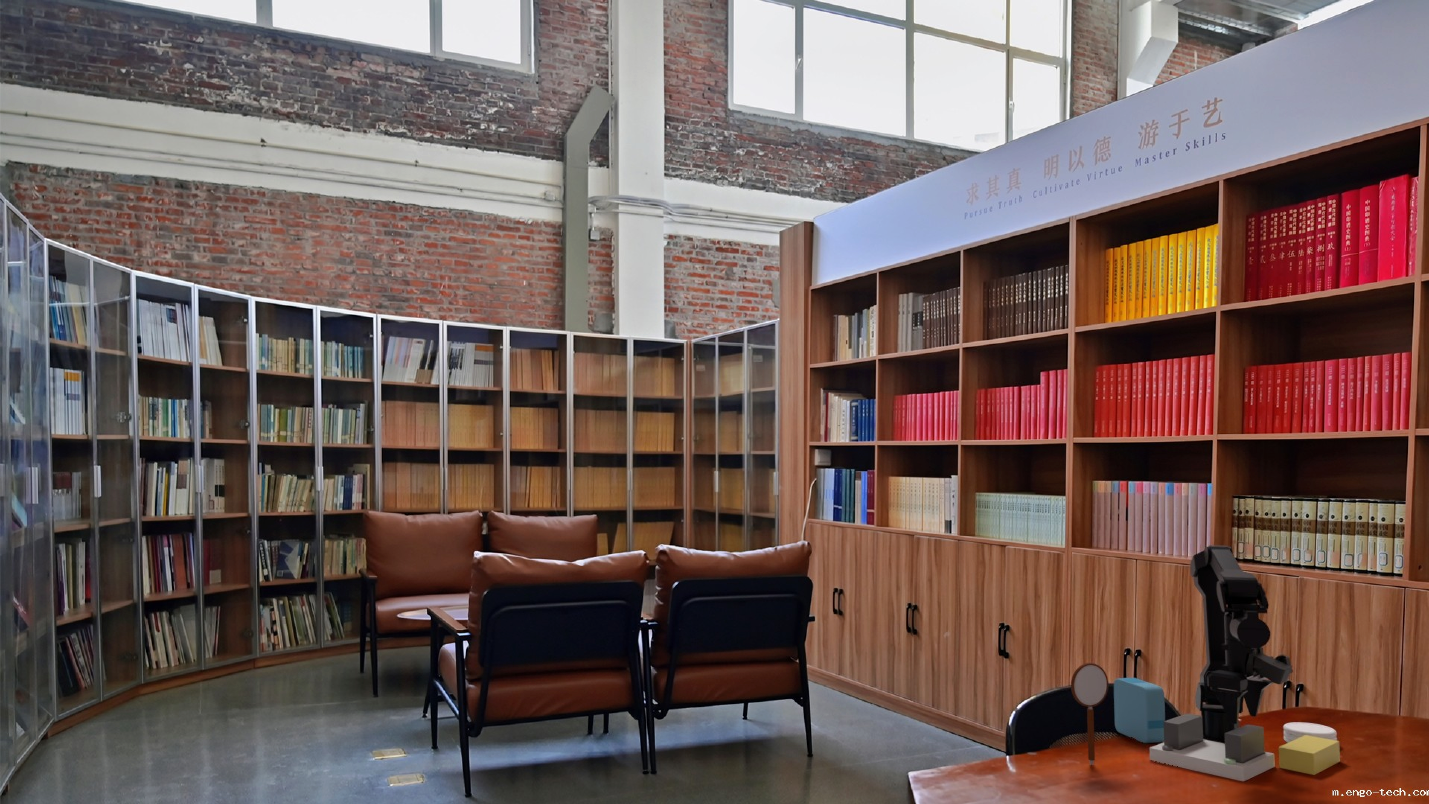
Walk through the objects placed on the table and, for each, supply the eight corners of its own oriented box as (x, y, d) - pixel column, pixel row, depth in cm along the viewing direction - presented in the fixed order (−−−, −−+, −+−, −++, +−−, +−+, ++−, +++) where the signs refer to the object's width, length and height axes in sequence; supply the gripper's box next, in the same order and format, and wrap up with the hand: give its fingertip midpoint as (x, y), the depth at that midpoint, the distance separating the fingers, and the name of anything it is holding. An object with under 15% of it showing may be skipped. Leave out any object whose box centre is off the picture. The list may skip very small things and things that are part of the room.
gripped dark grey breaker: (1225, 761, 192) (1224, 733, 193) (1248, 751, 199) (1247, 724, 200) (1241, 764, 190) (1240, 736, 190) (1264, 754, 197) (1263, 727, 197)
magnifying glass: (1106, 761, 199) (1104, 661, 201) (1112, 764, 198) (1110, 662, 199) (1070, 765, 197) (1068, 663, 198) (1076, 767, 195) (1073, 664, 196)
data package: (1166, 744, 213) (1164, 687, 214) (1147, 745, 212) (1145, 688, 213) (1132, 730, 225) (1130, 676, 225) (1114, 731, 224) (1113, 677, 225)
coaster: (1286, 735, 221) (1285, 719, 221) (1338, 742, 215) (1338, 726, 215) (1281, 745, 213) (1280, 728, 213) (1335, 753, 207) (1335, 735, 207)
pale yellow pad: (1279, 767, 196) (1278, 747, 196) (1306, 754, 205) (1305, 735, 205) (1314, 774, 191) (1313, 753, 191) (1340, 761, 200) (1339, 741, 200)
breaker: (1164, 748, 201) (1163, 721, 202) (1188, 738, 208) (1187, 713, 209) (1179, 751, 199) (1178, 724, 199) (1203, 741, 206) (1202, 715, 207)
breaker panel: (1149, 760, 200) (1149, 744, 200) (1183, 747, 210) (1182, 732, 210) (1243, 781, 187) (1242, 764, 187) (1274, 766, 196) (1274, 750, 197)
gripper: (1265, 650, 184) (1268, 736, 183) (1303, 640, 196) (1306, 720, 195) (1204, 642, 193) (1207, 724, 192) (1244, 633, 205) (1246, 709, 204)
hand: (1243, 719), depth 195 cm, fingers open, 9 cm apart
